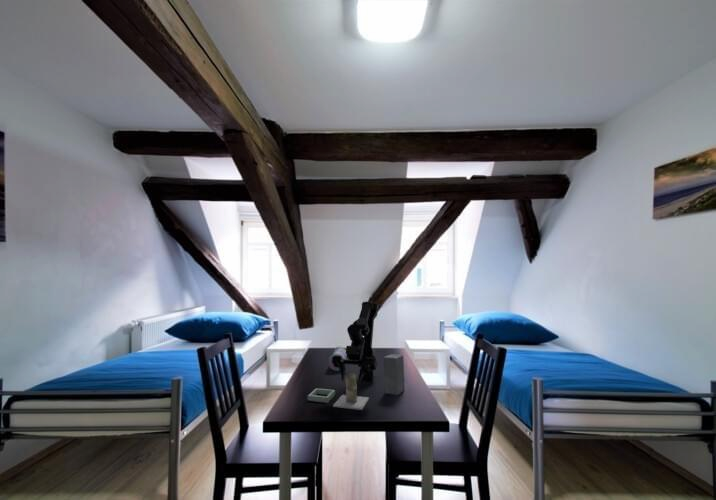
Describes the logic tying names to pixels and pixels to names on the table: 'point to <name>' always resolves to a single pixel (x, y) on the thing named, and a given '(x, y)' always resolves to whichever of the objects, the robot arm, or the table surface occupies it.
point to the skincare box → (394, 374)
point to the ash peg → (351, 387)
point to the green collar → (326, 399)
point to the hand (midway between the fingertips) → (350, 381)
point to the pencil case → (339, 352)
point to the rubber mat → (358, 405)
